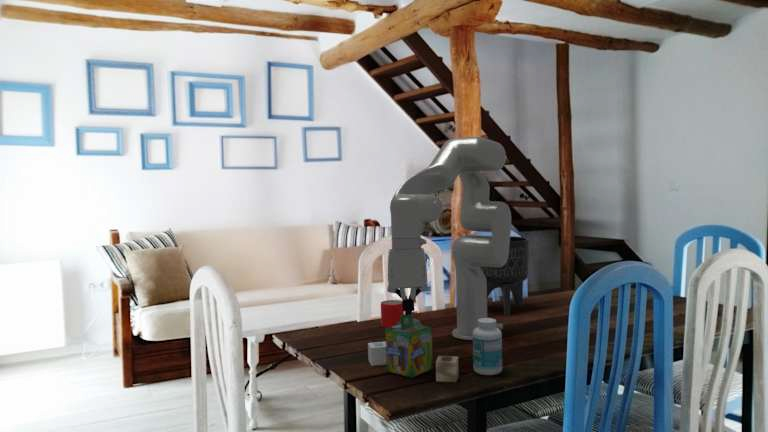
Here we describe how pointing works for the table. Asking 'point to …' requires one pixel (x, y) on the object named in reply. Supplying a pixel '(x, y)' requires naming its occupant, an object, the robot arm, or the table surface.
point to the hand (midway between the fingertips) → (408, 313)
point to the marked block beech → (447, 369)
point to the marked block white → (377, 353)
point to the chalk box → (408, 348)
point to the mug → (391, 312)
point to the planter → (510, 273)
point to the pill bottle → (487, 347)
